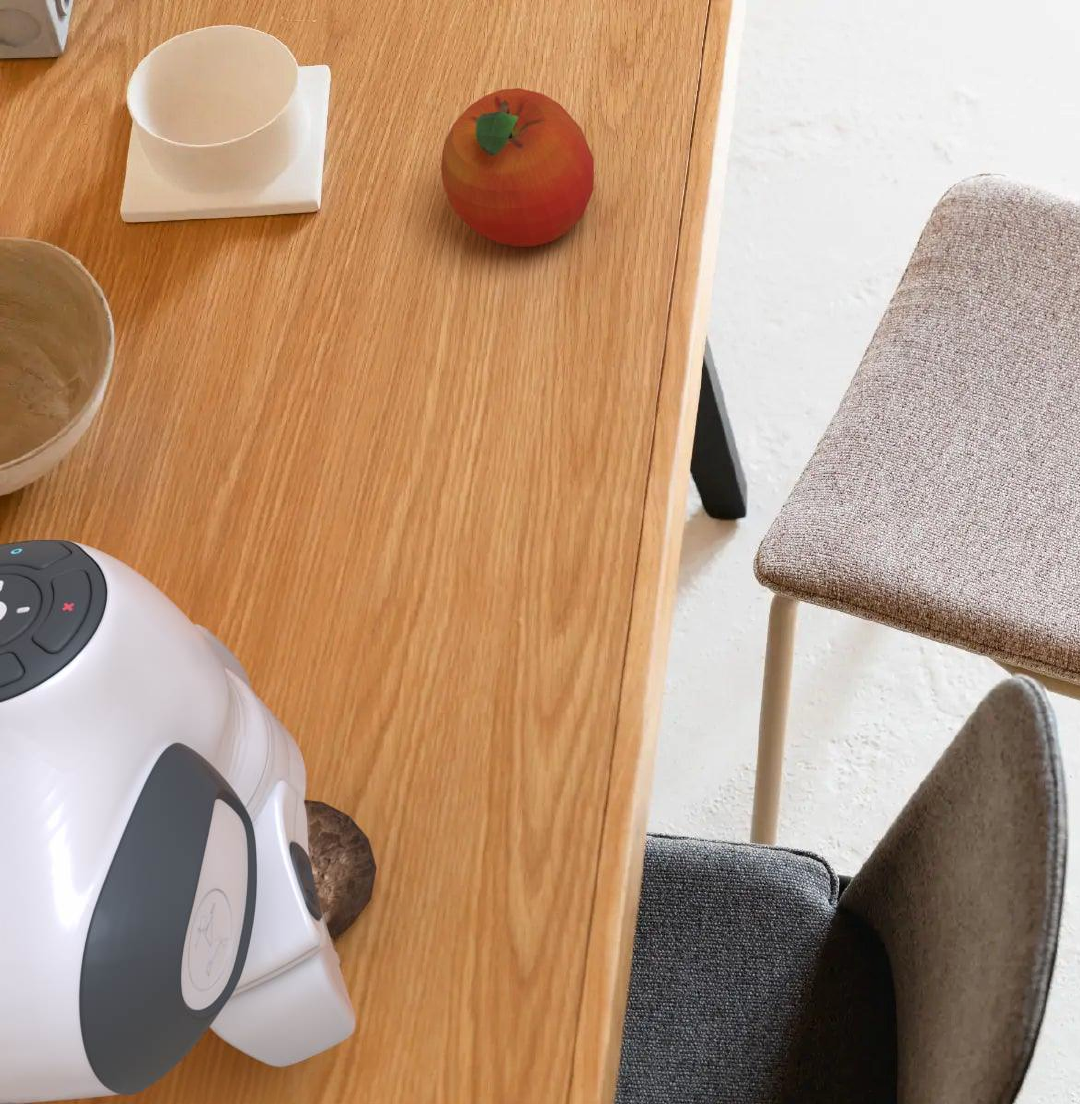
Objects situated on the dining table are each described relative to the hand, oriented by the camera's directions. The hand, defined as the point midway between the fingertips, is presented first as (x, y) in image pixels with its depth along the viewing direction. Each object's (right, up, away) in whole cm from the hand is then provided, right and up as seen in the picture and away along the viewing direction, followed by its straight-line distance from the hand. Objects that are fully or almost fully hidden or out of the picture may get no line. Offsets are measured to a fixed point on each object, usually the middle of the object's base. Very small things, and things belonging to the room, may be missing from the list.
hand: (298, 884), depth 73 cm
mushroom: (0, -1, +2) cm, 2 cm away
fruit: (+7, +39, +24) cm, 46 cm away
